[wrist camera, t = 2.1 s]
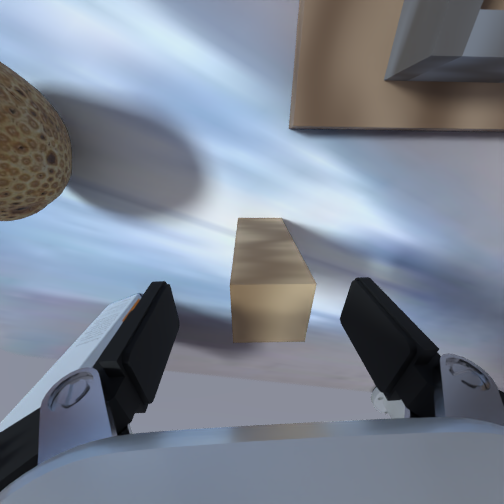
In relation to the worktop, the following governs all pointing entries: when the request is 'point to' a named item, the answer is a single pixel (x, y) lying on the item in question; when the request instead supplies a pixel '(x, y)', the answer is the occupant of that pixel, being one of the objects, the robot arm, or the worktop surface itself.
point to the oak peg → (269, 284)
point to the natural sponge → (29, 149)
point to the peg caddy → (399, 65)
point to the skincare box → (76, 356)
